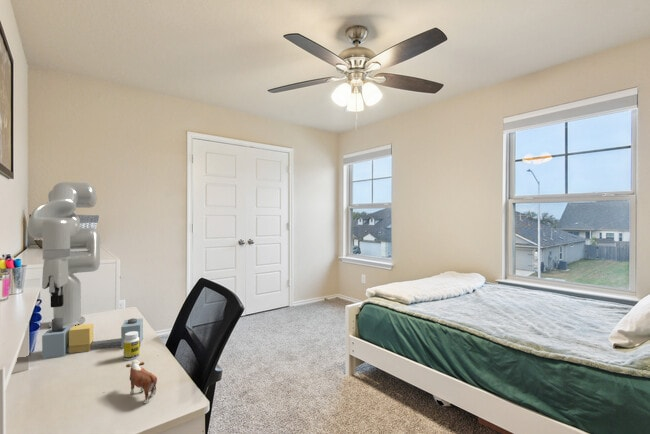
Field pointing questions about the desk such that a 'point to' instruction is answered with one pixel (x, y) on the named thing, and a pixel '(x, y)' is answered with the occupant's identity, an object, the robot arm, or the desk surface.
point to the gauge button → (57, 324)
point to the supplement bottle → (131, 345)
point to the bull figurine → (142, 379)
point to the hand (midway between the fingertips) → (57, 306)
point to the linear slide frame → (59, 341)
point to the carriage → (80, 338)
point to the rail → (103, 344)
